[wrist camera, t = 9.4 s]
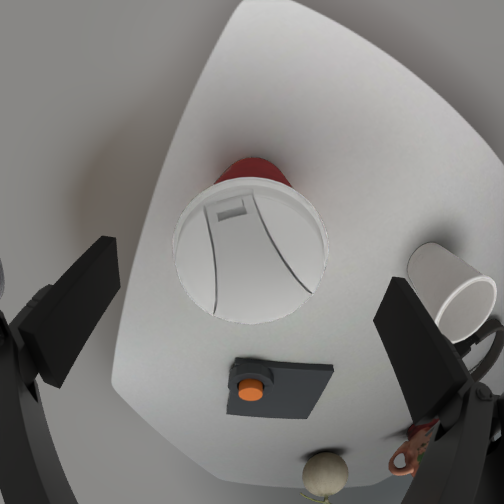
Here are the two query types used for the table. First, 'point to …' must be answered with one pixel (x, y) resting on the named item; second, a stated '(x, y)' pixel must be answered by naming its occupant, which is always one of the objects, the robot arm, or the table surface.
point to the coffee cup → (250, 245)
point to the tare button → (250, 389)
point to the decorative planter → (413, 449)
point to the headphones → (485, 330)
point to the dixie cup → (451, 291)
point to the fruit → (325, 475)
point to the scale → (278, 388)
